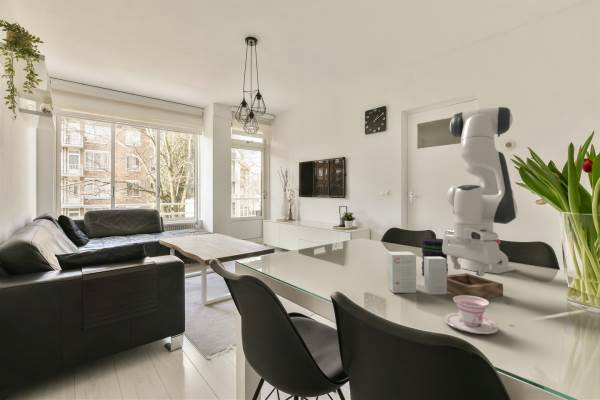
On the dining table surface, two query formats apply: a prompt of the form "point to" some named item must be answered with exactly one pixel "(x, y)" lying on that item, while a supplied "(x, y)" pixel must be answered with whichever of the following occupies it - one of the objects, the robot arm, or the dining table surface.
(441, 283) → the skincare box
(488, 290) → the wooden tray
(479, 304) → the teacup
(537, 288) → the dining table surface
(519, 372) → the dining table surface
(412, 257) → the small box
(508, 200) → the robot arm
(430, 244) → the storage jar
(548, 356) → the dining table surface
